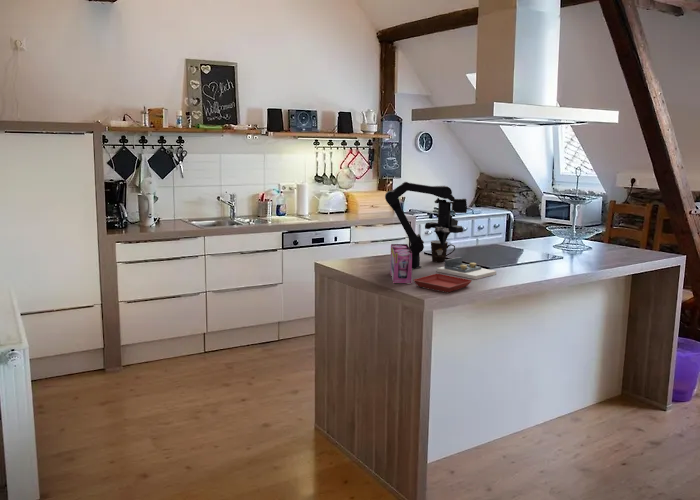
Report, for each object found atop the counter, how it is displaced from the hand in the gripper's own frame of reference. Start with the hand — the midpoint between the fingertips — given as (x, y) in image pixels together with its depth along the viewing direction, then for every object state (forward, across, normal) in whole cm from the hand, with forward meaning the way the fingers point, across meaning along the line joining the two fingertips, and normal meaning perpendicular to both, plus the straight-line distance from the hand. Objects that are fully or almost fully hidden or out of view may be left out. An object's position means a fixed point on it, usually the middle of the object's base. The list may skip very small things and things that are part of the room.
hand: (442, 245), depth 298 cm
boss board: (+11, -14, 0) cm, 18 cm away
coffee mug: (+11, +10, -12) cm, 19 cm away
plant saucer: (+12, -24, +30) cm, 40 cm away
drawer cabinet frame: (+9, -12, 0) cm, 15 cm away
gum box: (+11, -2, +32) cm, 34 cm away
